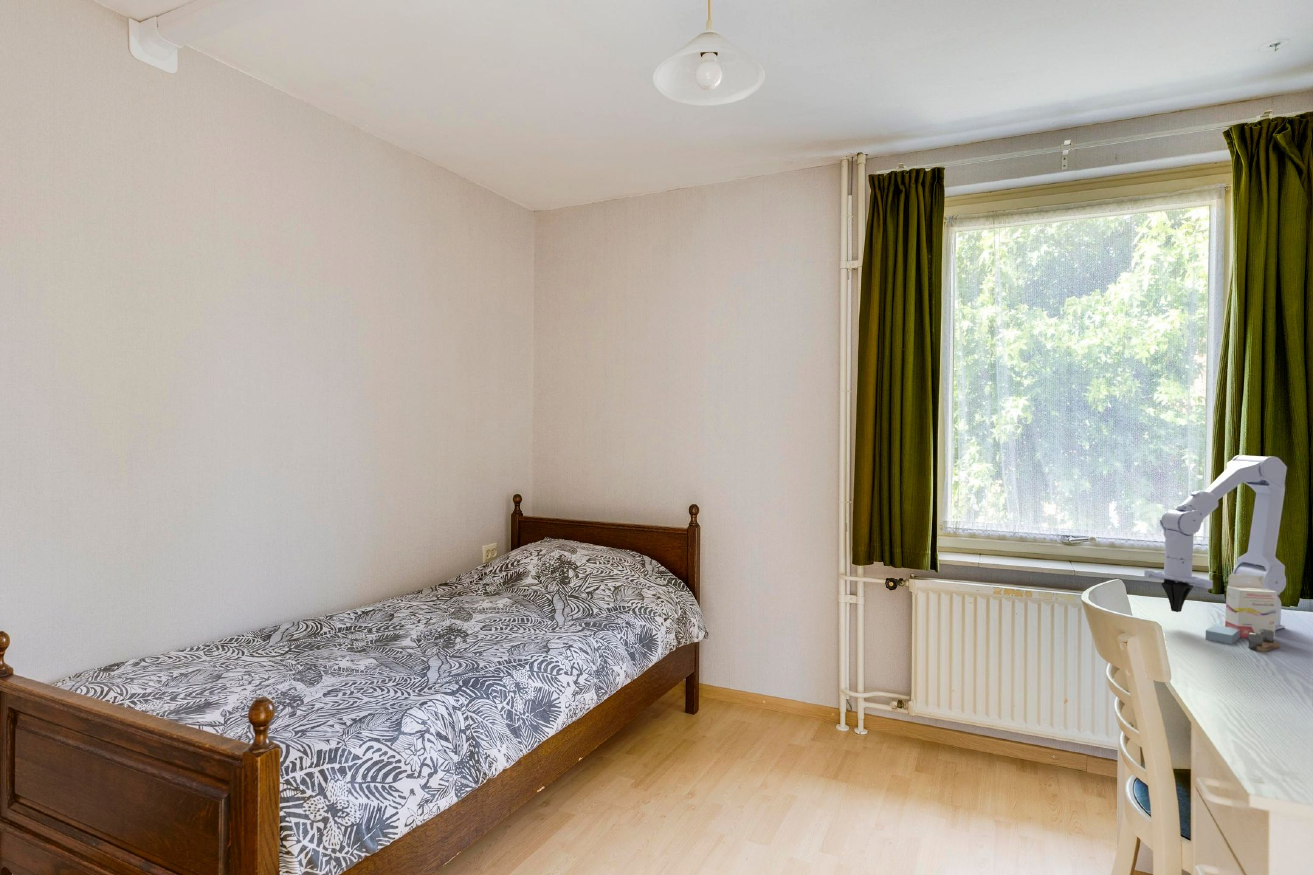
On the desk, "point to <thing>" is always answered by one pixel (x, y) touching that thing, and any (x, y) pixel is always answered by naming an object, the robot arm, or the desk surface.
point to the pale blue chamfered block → (1222, 634)
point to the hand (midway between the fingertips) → (1176, 611)
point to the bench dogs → (1262, 641)
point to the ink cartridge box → (1250, 605)
